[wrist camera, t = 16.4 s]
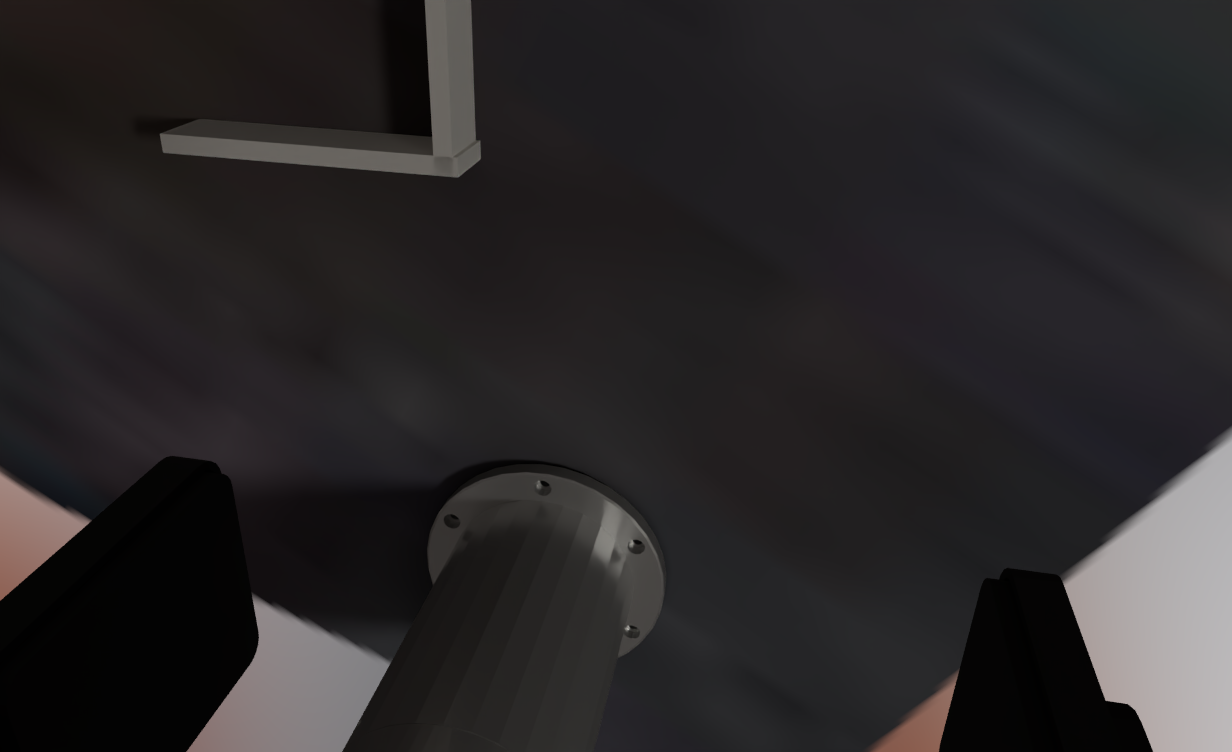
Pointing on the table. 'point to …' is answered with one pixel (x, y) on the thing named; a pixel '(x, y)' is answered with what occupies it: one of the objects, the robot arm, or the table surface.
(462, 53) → the frame
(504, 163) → the table surface
